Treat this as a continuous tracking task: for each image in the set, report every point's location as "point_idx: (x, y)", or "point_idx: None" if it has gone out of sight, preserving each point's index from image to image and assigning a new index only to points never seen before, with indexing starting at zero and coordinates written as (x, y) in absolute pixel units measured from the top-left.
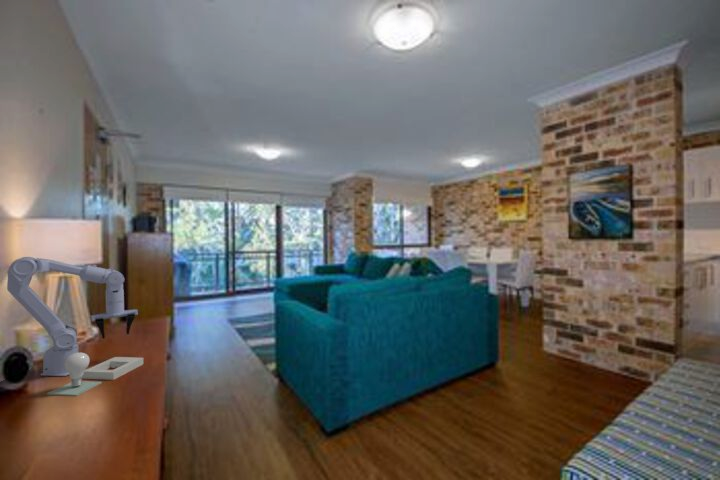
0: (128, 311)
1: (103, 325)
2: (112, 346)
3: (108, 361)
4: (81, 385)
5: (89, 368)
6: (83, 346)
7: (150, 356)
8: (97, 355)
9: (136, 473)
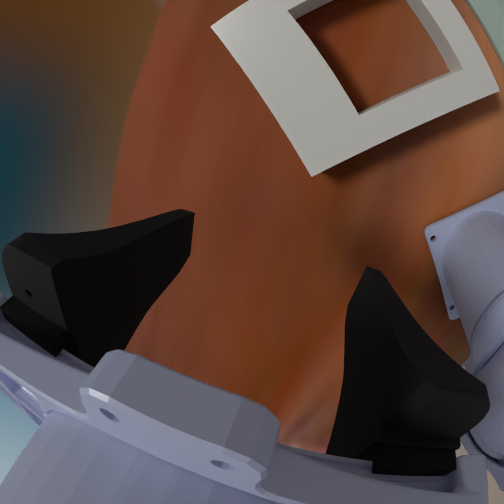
0: (20, 389)
1: (406, 350)
2: (241, 377)
3: (368, 121)
4: (501, 2)
5: (469, 99)
6: (298, 429)
7: (166, 128)
8: (315, 339)
9: None
